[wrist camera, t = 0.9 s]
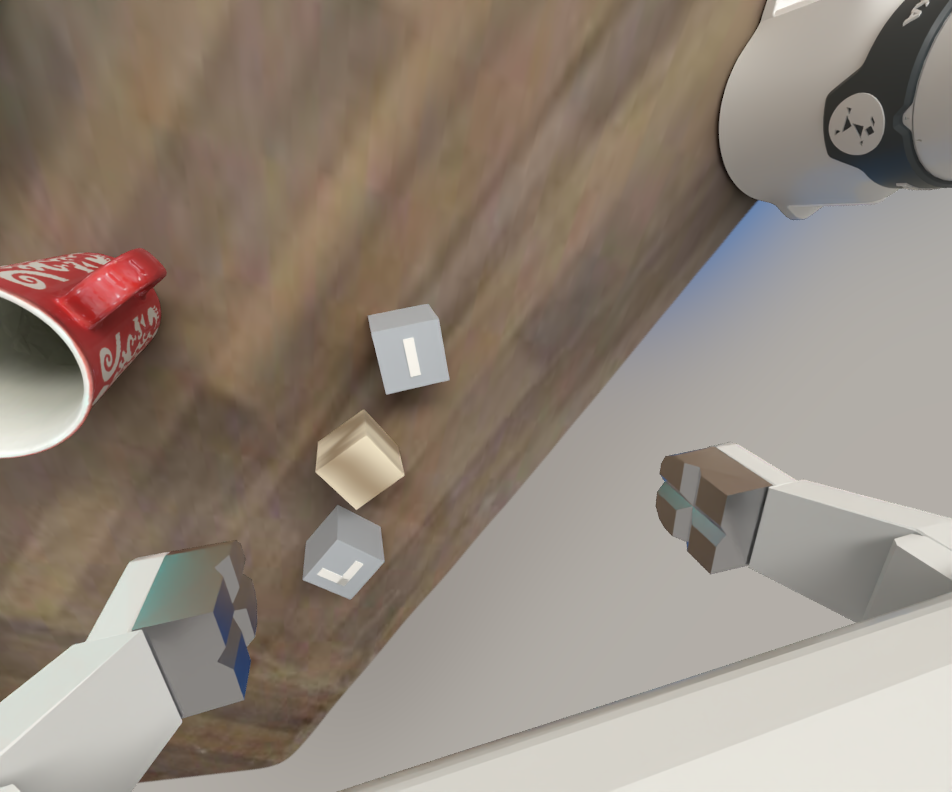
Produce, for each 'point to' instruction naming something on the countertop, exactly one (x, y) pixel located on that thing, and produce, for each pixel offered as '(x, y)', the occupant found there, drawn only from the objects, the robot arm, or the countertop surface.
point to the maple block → (359, 460)
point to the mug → (69, 340)
